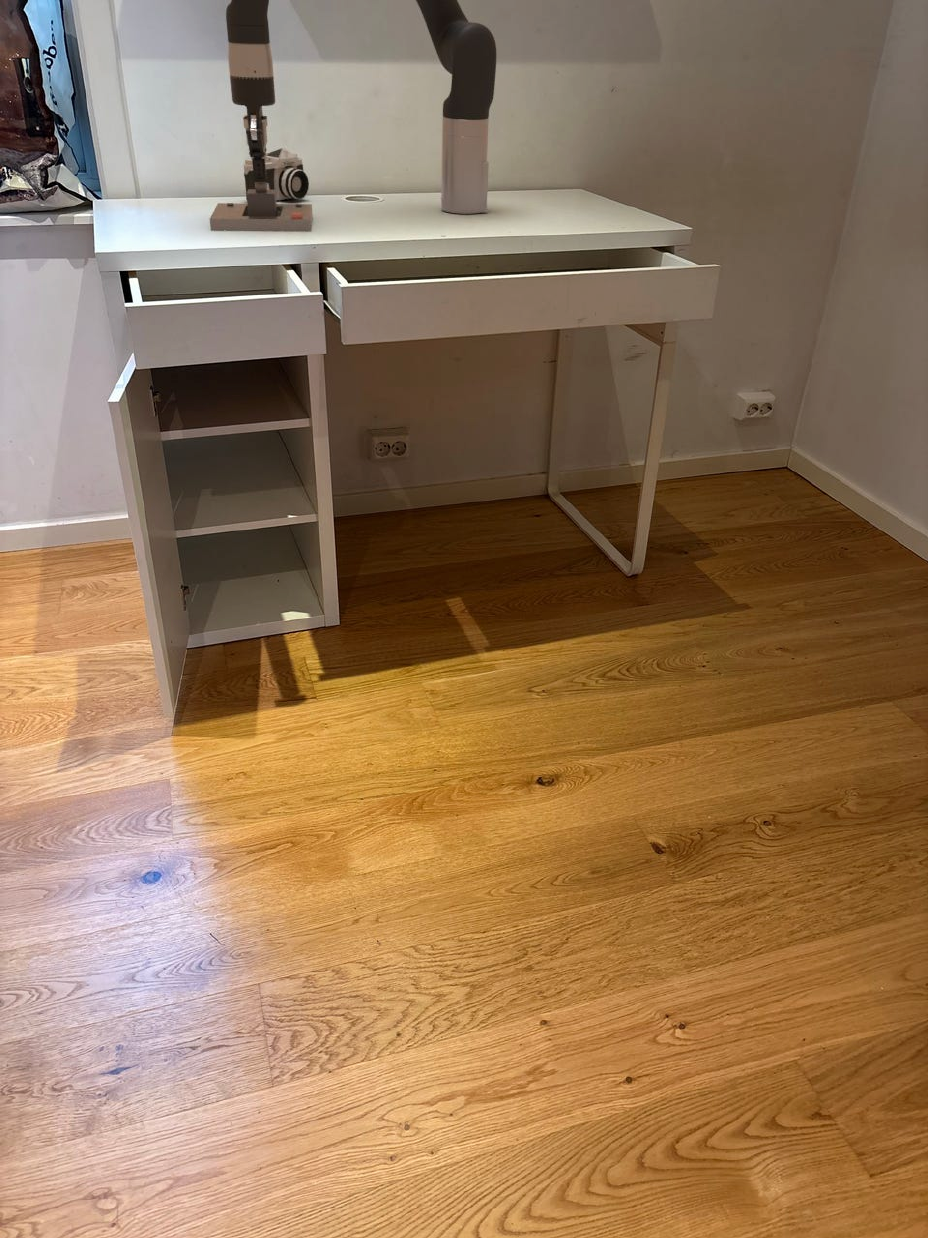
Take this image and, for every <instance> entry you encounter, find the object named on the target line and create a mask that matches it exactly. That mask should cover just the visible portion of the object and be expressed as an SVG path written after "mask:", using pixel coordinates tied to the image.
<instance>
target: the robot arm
mask: <svg viewBox="0 0 928 1238" xmlns="http://www.w3.org/2000/svg"><path fill="white" fill-rule="evenodd" d="M230 1H231V2H230V3H229V4H228V5H227V7H226V10H225V21H226V31H227V42H228V43H227V44H228V50H227V51H228V53H227V54H228V55H227V57H228V58H227V59H228V70H229V71H228V72H229V81H230V92H231V101H232V103H233V104H234V105H238V106H244V107H245V108H246V115H244V116H243V119H242V120H243V127H244V129H245V135H246V145H247V146H248V150H249V156H250V158H251V160H252V163H253V175H254V181H255V182H266V166H265V159H266V153H267V143H268V133H267V132H268V131H267V127H268V116H267V115H264V114H263V107H270V106H273V105H275V104H276V94H275V92H276V90H275V79H274V78H275V77H274V66H273V65H274V62H273V55H272V50H271V43H270V30H269V29H270V28H269V19H268V10H269V4H270V0H230ZM415 2H416V3H417V5H418V7H419V9H420V12H421V15H422V17H423V19H424V22H425V25H426V27H427V30H428V32H429V33H428V34H429V35H430V39H431V41H432V44H433V47H434V49H435V52H436V56H437V58H438V60H439V62H440V64H441V65H442V67H443V68H444V70H445V71H446V72H448V73H449V74H450V75H451V84H450V86H451V88H450V92H449V94H448V97H447V98H445V99H444V101H443V103H442V123H441V124H442V128H441V129H442V132H441V133H442V134H441V192H440V193H441V196H440V201H441V202H440V208H441V211H443V212H447V213H452V214H465V215H467V214H470V215H471V214H480V213H487V212H488V211H487V210H488V192H489V191H488V189H489V188H488V186H489V168H490V167H489V165H490V163H489V161H488V147H489V145H488V144H489V124H490V123H489V122H490V118H489V117H490V108H491V106H492V103H493V101H494V95H495V85H496V72H497V45H496V40H495V37H494V34H493V33H492V32H491V30H490V29H489V28H488V27H487V26H486V25H484V24H482V23H478V22H471V21H469V20H468V19H467V16H466V15H465V13H464V11H463V10H462V7H461V5H460V3H459V1H458V0H415Z"/></svg>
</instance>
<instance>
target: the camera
mask: <svg viewBox="0 0 928 1238" xmlns="http://www.w3.org/2000/svg"><path fill="white" fill-rule="evenodd" d="M265 166H266V189H267V190H276V202H279V201H284V200H285V199H286V200H291V199H293V200H296V201H297V200H302V199H303V198H305V197H306V195H307V194H308V191H309V188H310V187H309V186H310V185H309V184H310V182H309V177H308V176H307V173H306V172H305V171H304V164H303V158H301V157H298V154H297V153H295V152H294V153H293V152H290V151H289V150H287V149H286V148H284V147H281V148H279V149H276V150H273V151H271V152H266V159H265ZM243 177H244V184H245V195H246V197H245V198H246V201H247V191H248V189H255V181H254V175H253V163H252V160H251V157H250V158H246V159H244V163H243Z"/></svg>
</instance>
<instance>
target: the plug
mask: <svg viewBox="0 0 928 1238" xmlns="http://www.w3.org/2000/svg"><path fill="white" fill-rule="evenodd" d="M246 204H248V214H249V216H264V217H277V204H278V203H277V201H276V190H267V189H266V182H255V189H248V191H247V200H246Z"/></svg>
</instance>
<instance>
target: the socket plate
mask: <svg viewBox="0 0 928 1238" xmlns="http://www.w3.org/2000/svg"><path fill="white" fill-rule="evenodd" d="M276 204H277V217H264V216H249V214H248V203H237V202H236V203H235V202H234V203H233V202H227V203H226V202H223V203H221V202H219V203H217V205H216V206H215V208H214V210H213V212H212V214H211V215H210V217H209V225H210V226H209V227H210V231H212V232H213V231H214V232H218V231H219V232H222V231H223V232H225V231H226V232H300V233H301V232H307V233H308V232H310V233H311V232H312V226H313V219H314V217H313V216H314V215H313V203H312V204H311V203H310V204H307V203H276ZM224 230H225V231H224Z"/></svg>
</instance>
